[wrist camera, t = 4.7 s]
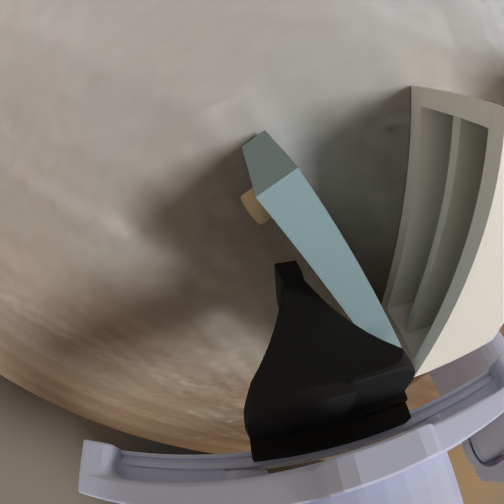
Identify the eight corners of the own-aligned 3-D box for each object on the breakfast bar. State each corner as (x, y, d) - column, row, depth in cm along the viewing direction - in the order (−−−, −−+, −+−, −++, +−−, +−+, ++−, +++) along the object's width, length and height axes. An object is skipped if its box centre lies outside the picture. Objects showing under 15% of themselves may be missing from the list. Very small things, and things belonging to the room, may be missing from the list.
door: (380, 311, 18) (413, 374, 13) (357, 325, 18) (385, 390, 14) (264, 130, 11) (297, 167, 6) (226, 157, 11) (228, 217, 7)
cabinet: (455, 289, 18) (492, 340, 13) (379, 310, 18) (413, 377, 13) (497, 108, 10) (567, 138, 5) (411, 85, 10) (505, 106, 5)
